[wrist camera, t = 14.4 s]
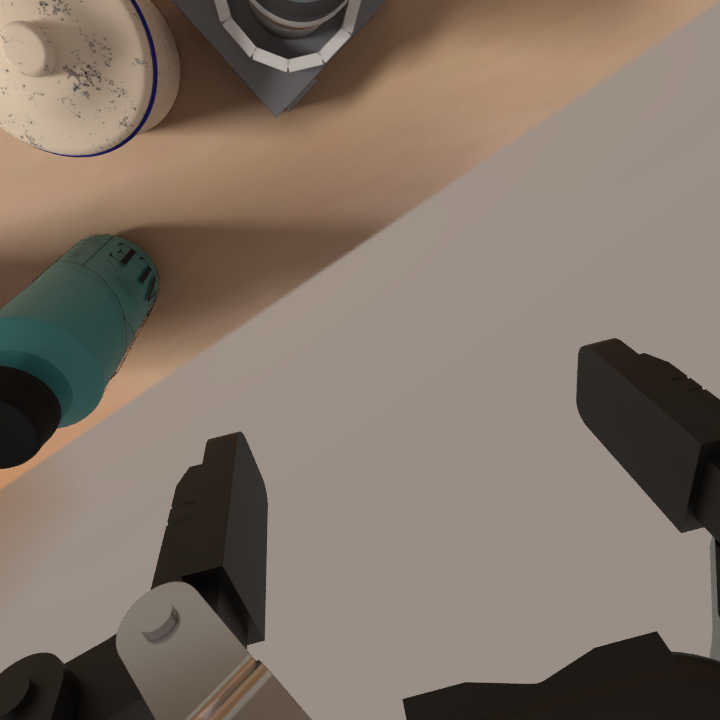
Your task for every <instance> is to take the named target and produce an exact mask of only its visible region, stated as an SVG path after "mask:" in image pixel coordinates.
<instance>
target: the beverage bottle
mask: <svg viewBox="0 0 720 720" xmlns="http://www.w3.org/2000/svg"><path fill="white" fill-rule="evenodd" d="M94 235H96V234H94ZM89 236H90V235H89ZM155 268H156V267H155V265H154V263H153V262H152V260H151V259H150V257H149V256H148V255H147V254H146V253H145V252H144V251H143V250H142V249H141V248H140V247H139V246H137V245H136V244H134V243H133V242H131V241H129V240H127V239H124V238H122V237H119V236H118V237H117V236H115V235H113V236H110V235H109V234H106V235H97V236H91V237H89V238H86V239H84V240H82V241H81V240H80V241H79V243H77V244H76V245H74V246H73V247H72V248H71V249H70V250H68V251H67V253H66V254H64V255H62V256H61V257H60V258H59V259H58V260H56V261H55V263H53V264H52V265H51V266H50V267H49V268H48V269H46V270H45V271H44V272H43V274H42V275H41V276H40V275H39V276H40V277H39V276H38V277H39V278H38V277H37V278H38V279H37V278H36V279H35V281H34V282H33V283H31V284H30V285H29V286H28V287H27V288H26V289H24V290H23V291H22V292H21V293H20V294H18V295H17V296H16V297H15V298H13V299H12V300H11V301H10V302H9V303H7V304H6V305H5V306H4V307H3V308H1V309H0V469H5V468H11V467H15V466H18V465H21V464H23V463H25V462H26V461H28V460H29V459H31V458H32V457H33V456H34V455H36V453H37V452H38V451H39V450H40V448H41V447H42V446H43V445H44V443H45V442H46V441H47V440H49V439H50V438H51V436H52V435H53V434H54V432H55V431H56V429H57V428H62V427H67V426H70V425H72V424H75V423H77V422H79V421H81V420H82V419H84V418H85V417H87V416H88V415H89V414H90V413H92V412H93V410H94V409H95V408H96V407H97V405H98V404H99V402H100V400H101V398H102V396H103V393H104V392H105V391H106V390H105V388H106V386H107V384H108V382H109V380H110V379H112V377H113V376H115V374H118V371H117V373H116V372H115V371H116V370H117V367H118V366H120V365H119V363H120V362H124V361H125V359H126V357H125V358H123V356H124V355H125V352H127V349H128V347H130V346H129V345H130V343H131V344H132V343H133V342H132V340H133V338H134V336H135V334H136V332H137V331H138V329H139V328H140V325H142V324H141V323H142V322H144V321H143V320H144V318H145V316H146V315H147V312H148V311H149V309H150V307H151V305H152V303H153V301H154V300H155V302H156V299H155V298H157V297H158V296H156V295H157V292H159V290H158V282H159V281H160V279H159V281H158V276H159V275H157V271H156V270H157V269H155ZM155 302H154V303H155ZM153 306H154V304H153ZM152 308H153V307H152ZM151 310H152V309H151ZM151 310H150V312H151ZM150 312H148V313H149V314H150ZM149 314H148V315H147V316H149ZM147 318H148V317H147ZM146 320H147V319H146ZM146 320H145V321H146ZM144 323H145V322H144ZM143 325H144V324H143ZM142 327H143V326H142ZM136 337H137V336H136ZM133 341H134V340H133ZM133 344H134V343H133ZM130 349H131V348H130ZM130 349H129V350H130ZM127 355H128V354H127ZM122 358H123V359H124V361H121V360H122ZM122 364H123V363H122ZM122 364H121V366H122ZM118 370H120V369H118ZM114 372H115V373H114ZM113 374H114V375H113ZM104 390H105V391H104Z"/></svg>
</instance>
